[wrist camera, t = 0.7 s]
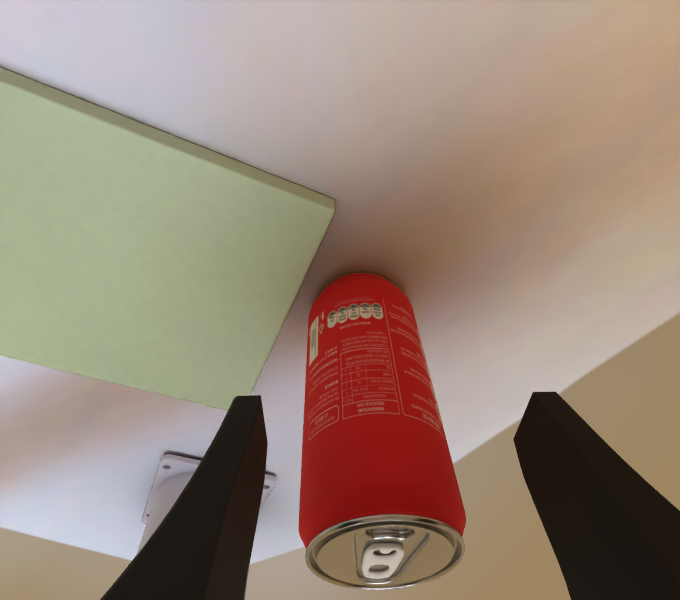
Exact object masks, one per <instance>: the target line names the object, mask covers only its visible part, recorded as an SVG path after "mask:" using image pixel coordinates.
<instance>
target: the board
mask: <svg viewBox="0 0 680 600" xmlns="http://www.w3.org/2000/svg"><path fill="white" fill-rule="evenodd" d="M334 213H335V200H334V199H332V198H330V197H327V196H325V195H322V194H319V193H317V192H314V191H312V190H309V189H307V188H304V187H302V186H299V185H297V184H294V183H292V182H289V181H287V180H284V179H282V178H279V177H276V176H274V175H271V174H269V173H266V172H264V171H261V170H259V169H256V168H254V167H251V166H249V165H246V164H244V163H241V162H239V161H236V160H233V159H231V158H228V157H226V156H223V155H221V154H218V153H216V152H213V151H211V150H208V149H206V148H203V147H201V146H198V145H196V144H193V143H190V142H188V141H185V140H183V139H180V138H178V137H175V136H173V135H170V134H168V133H165V132H163V131H160V130H158V129H155V128H153V127H150V126H147V125H145V124H142V123H140V122H137V121H135V120H132V119H130V118H127V117H125V116H122V115H120V114H117V113H115V112H112V111H110V110H107V109H104V108H102V107H99V106H97V105H94V104H92V103H89V102H87V101H84V100H82V99H79V98H77V97H74V96H72V95H69V94H67V93H64V92H61V91H59V90H56V89H54V88H51V87H49V86H46V85H44V84H41V83H39V82H36V81H34V80H31V79H29V78H26V77H24V76H21V75H18V74H16V73H13V72H11V71H8V70H6V69H3V68H1V67H0V355H1V356H5V357H9V358H13V359H17V360H21V361H25V362H29V363H34V364H38V365H42V366H46V367H50V368H54V369H58V370H62V371H67V372H71V373H75V374H79V375H83V376H87V377H91V378H96V379H100V380H104V381H108V382H112V383H116V384H120V385H124V386H129V387H133V388H137V389H141V390H145V391H149V392H153V393H157V394H162V395H166V396H170V397H174V398H178V399H182V400H186V401H190V402H195V403H199V404H203V405H207V406H211V407H215V408H219V409H224V410H229V408H230V406H231V403H232V401H233V399H234V398H235V397H236V396H250V394H251V392H252V390H253V388H254V386H255V383H256V381H257V379H258V377H259V375H260V373H261V370H262V368H263V366H264V364H265V362H266V360H267V357H268V355H269V353H270V351H271V349H272V347H273V345H274V342H275V340H276V338H277V336H278V334H279V332H280V329H281V327H282V325H283V323H284V321H285V319H286V316H287V314H288V312H289V310H290V308H291V306H292V304H293V301H294V299H295V297H296V295H297V293H298V291H299V288H300V286H301V284H302V282H303V280H304V278H305V275H306V273H307V271H308V269H309V267H310V265H311V263H312V260H313V258H314V256H315V254H316V252H317V250H318V247H319V245H320V243H321V241H322V239H323V237H324V234H325V232H326V230H327V228H328V226H329V224H330V222H331V219H332V217H333V215H334Z"/></svg>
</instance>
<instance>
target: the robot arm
mask: <svg viewBox="0 0 680 600" xmlns="http://www.w3.org/2000/svg"><path fill="white" fill-rule="evenodd" d="M514 443H515V447H516V451H517V454H518V458H519V462H520V466H521V469H522V473H523V476H524V479H525V481H526V484H527V486H528V489H529V491H530V494H531V496H532V499H533V501H534V504H535V506H536V509H537V511H538V514H539V516H540V518H541V521H542V523H543V526H544V528H545V531H546V533H547V536H548V538H549V540H550V543H551V545H552V548H553V550H554V553H555V555H556V557H557V560H558V562H559V565H560V568H561V571H562V573H563V576H564V579H565V581H566V584H567V588H568V591H569V594H570V597H571V600H680V511H679V510H678V509H677V508H676V507H674V506H673V505H672V504H671V503H670V502H669V501H668V500H667V499H666V498H664V497H663V496H662V495H661V494H660V493H659V492H658V491H657V490H655V489H654V488H653V487H652V486H651V485H650V484H648V482H646V481H645V480H644V479H643V478H642V477H641V476H640V475H639V474H638V473H637V472H636V471H635V470H634V469H632V468H631V467H630V466H629V465H628V464H627V463H626V462H625V461H624V460H623V459H622V458H621V457H620V456H619V455H618V454H617V453H616V452H615V451H614V450H613V449H612V448H611V447H610V446H609V445H608V444H607V443H606V442H605V441H604V440H603V439H602V438H601V437H600V436H599V435H598V434H597V433H596V432H595V431H594V430H593V429H592V428H591V427H590V426H589V425H588V424H587V423H586V422H585V421H584V420H583V419H582V418H581V417H580V416H579V415H578V414H577V413H576V412H575V411H574V410H573V409H572V408H571V407H570V406H569V405H568V404H567V403H566V402H565V401H564V400H563V399H562V398H561V397H560V396H559V395H558V394H557V393H556V392H533V393H532V396H531V398H530V401H529V403H528V405H527V408H526V410H525V413H524V415H523V418H522V420H521V422H520V425H519V427H518V430H517V432H516V434H515V437H514ZM266 456H267V436H266V429H265V422H264V415H263V408H262V402H261V395H258V396H236V397H235V398H234V399H233V401H232V403H231V406H230V408H229V410H228V412H227V414H226V416H225V418H224V420H223V422H222V424H221V426H220V428H219V430H218V432H217V434H216V436H215V438H214V439H213V441H212V443H211V445H210V447H209V448H208V450H207V452H206V454H205V455H204V457H203V459H202V460H196V459H191V458H186V457H181V456H177V455H172V454H166V455H164V456H163V457H162V459H161V462H160V465H159V468H158V471H157V474H156V477H155V481H154V484H153V487H152V490H151V493H150V496H149V499H148V502H147V505H146V508H145V511H144V514H143V517H142V522H143V523H144V524H146V527H145V530H144V533H143V537H142V540H141V543H140V546H139V549H138V552H137V555H136V557H135V558H134V559H133V560H132V562H131V563H130V564H129V565H128V567H127V568H126V569H125V571H124V572H123V573H122V574H121V576H120V577H119V578H118V579H117V580H116V582H115V583H114V584H113V585H112V587H111V588H110V589H109V590H108V591H107V592H106V594H105V595H104V596H103V597H102V598H101V599H100V600H245V594H246V586H247V579H248V571H249V563H250V558H251V552H252V547H253V541H254V536H255V531H256V525H257V520H258V514H259V509H260V508H261V506H262V505H263V503H264V501H265V500H266V498H267V497H268V495H269V493H270V492H271V490H272V489H273V487H274V485H275V483H276V478H275V477H274V476H272V475H268V474H265V469H266Z"/></svg>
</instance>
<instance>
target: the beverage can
mask: <svg viewBox="0 0 680 600" xmlns="http://www.w3.org/2000/svg"><path fill="white" fill-rule="evenodd" d="M465 523H466V515H465V510H464V507H463V503H462V499H461V495H460V491H459V487H458V483H457V480H456V476H455V472H454V468H453V464H452V460H451V456H450V452H449V448H448V444H447V440H446V436H445V433H444V429H443V425H442V421H441V417H440V413H439V409H438V405H437V401H436V398H435V394H434V390H433V386H432V382H431V378H430V374H429V370H428V366H427V363H426V359H425V355H424V351H423V347H422V343H421V339H420V335H419V331H418V328H417V324H416V320H415V316H414V312H413V308H412V306H411V303H410V301H409V300H408V298H407V297H406V296H405V294H404V293H403V292H402V291H400V290H399V289H398V288H397V287H396V286H395V285H394V284H393V283H392V282H391V281H389V280H388V279H386V278H384V277H382V276H380V275H377V274H373V273H367V272H357V273H350V274H346V275H343V276H341V277H339V278H337V279H335V280H333V281H332V282H331V283H329V284H328V285H327V286H326V287H325V288H324V289H323V291H322V292H321V294H320V296H319V297H318V298H317V299H316V301H315V302H314V304H313V306H312V308H311V310H310V314H309V321H308V341H307V362H306V383H305V404H304V425H303V446H302V467H301V488H300V509H299V534H300V537H301V539H302V541H303V543H304V545H305V547H306V549H307V550H306V563H307V565H308V567H309V569H310V570H311V571H312V572H313V573H314V574H315V575H316V576H318V577H319V578H321V579H323V580H325V581H327V582H329V583H332V584H335V585H339V586H343V587H348V588H354V589H364V590H387V589H398V588H404V587H410V586H415V585H419V584H422V583H425V582H429V581H432V580H435V579H437V578H439V577H441V576H443V575H445V574H446V573H448V572H450V571H451V570H452V569H454V568H455V567H456V566H457V565H458V564H459V562H460V561H461V560H462V558H463V555H464V552H465V545H464V541H463V539H462V535H463V531H464V528H465Z"/></svg>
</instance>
